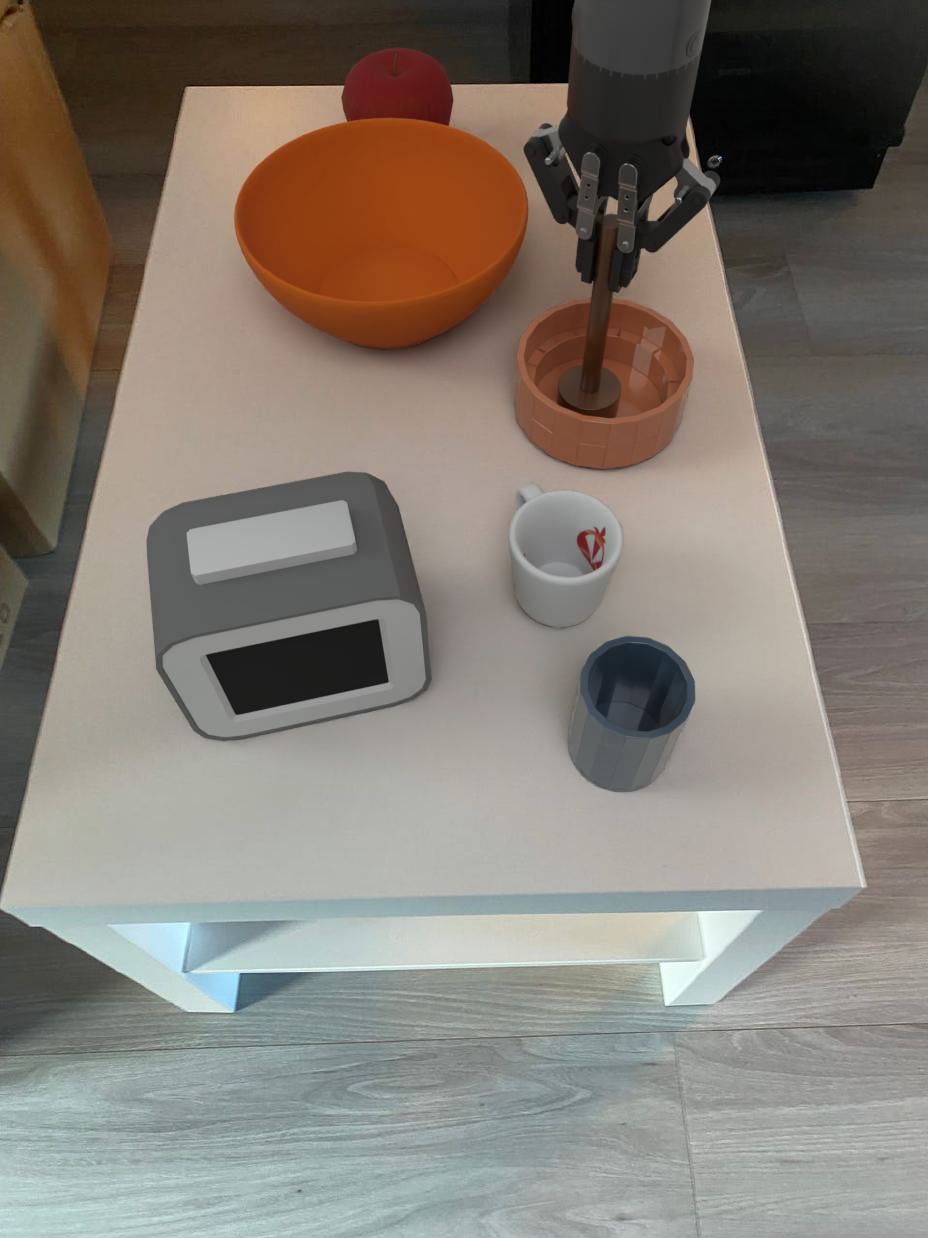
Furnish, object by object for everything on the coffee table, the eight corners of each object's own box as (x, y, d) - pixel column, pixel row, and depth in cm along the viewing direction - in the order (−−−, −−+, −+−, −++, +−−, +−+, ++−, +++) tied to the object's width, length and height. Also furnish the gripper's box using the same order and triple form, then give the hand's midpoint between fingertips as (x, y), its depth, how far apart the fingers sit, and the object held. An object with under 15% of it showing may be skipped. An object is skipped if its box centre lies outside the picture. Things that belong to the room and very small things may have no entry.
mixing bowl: (703, 383, 83) (718, 330, 78) (641, 496, 77) (653, 447, 72) (557, 331, 87) (562, 277, 82) (486, 435, 81) (487, 384, 75)
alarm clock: (203, 747, 66) (135, 635, 53) (189, 612, 72) (124, 480, 58) (432, 697, 68) (423, 577, 55) (401, 570, 74) (385, 432, 60)
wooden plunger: (627, 397, 81) (662, 210, 66) (602, 438, 79) (632, 254, 63) (571, 376, 82) (593, 188, 67) (545, 416, 80) (561, 231, 65)
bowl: (493, 415, 82) (495, 324, 73) (217, 370, 85) (188, 278, 76) (545, 230, 94) (552, 134, 86) (303, 197, 97) (287, 101, 89)
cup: (473, 546, 75) (473, 480, 68) (564, 513, 76) (573, 446, 69) (532, 656, 70) (539, 598, 63) (628, 619, 71) (645, 558, 64)
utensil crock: (684, 725, 67) (711, 664, 59) (646, 810, 63) (669, 757, 56) (592, 683, 68) (607, 619, 61) (551, 764, 65) (561, 707, 57)
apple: (447, 132, 103) (445, 18, 93) (461, 193, 97) (459, 79, 87) (346, 141, 102) (332, 27, 92) (354, 203, 97) (340, 89, 87)
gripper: (774, 29, 54) (711, 278, 69) (557, -25, 58) (541, 224, 73) (729, 96, 51) (672, 343, 66) (502, 35, 55) (497, 282, 69)
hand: (604, 279), depth 69 cm, fingers closed on wooden plunger, 1 cm apart
